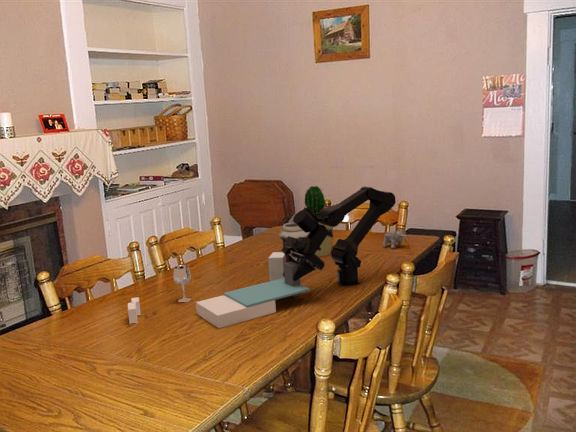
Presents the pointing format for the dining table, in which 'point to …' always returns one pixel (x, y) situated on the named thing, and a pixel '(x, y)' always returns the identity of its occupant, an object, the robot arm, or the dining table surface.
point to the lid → (270, 289)
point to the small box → (276, 265)
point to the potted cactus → (315, 204)
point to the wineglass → (182, 279)
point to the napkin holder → (133, 310)
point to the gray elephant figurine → (394, 238)
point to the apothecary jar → (291, 233)
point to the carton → (231, 311)
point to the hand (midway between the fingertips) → (288, 278)
